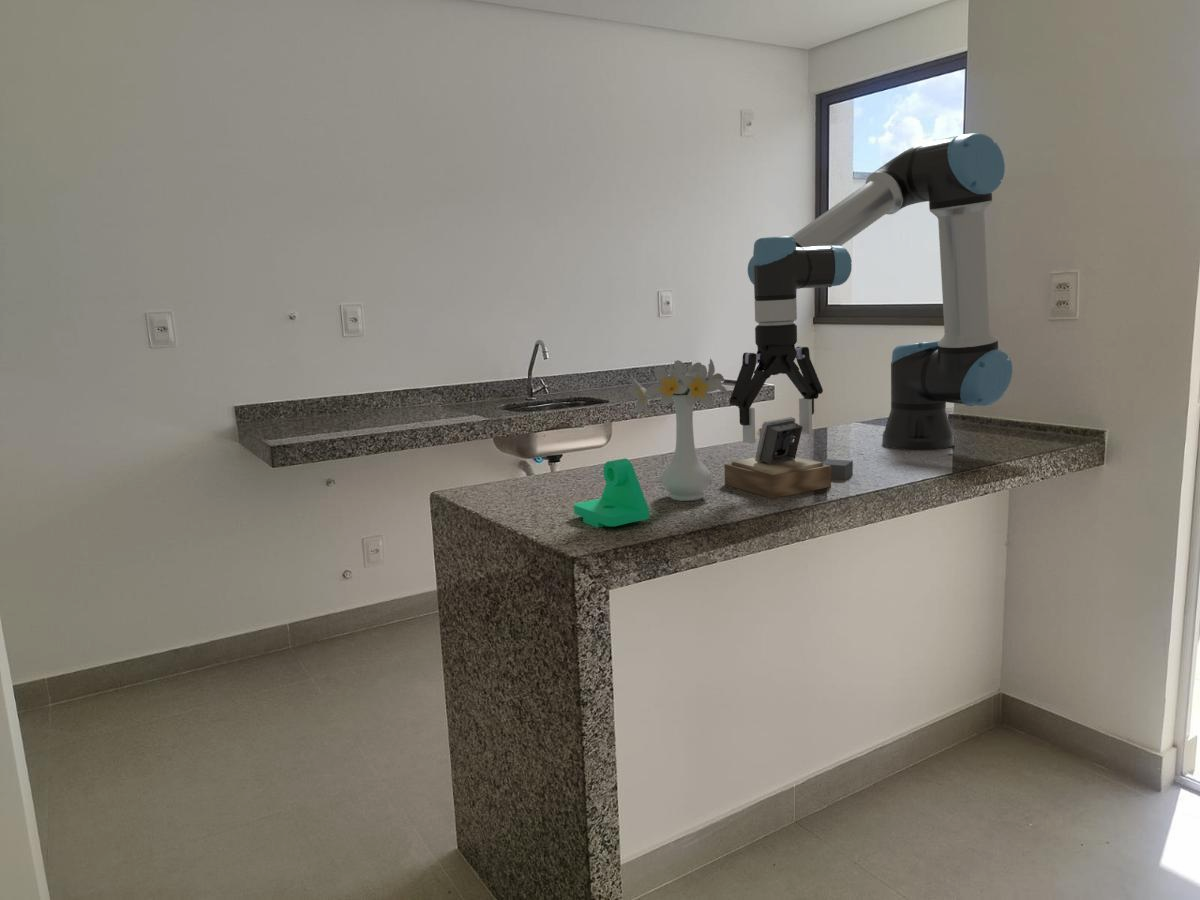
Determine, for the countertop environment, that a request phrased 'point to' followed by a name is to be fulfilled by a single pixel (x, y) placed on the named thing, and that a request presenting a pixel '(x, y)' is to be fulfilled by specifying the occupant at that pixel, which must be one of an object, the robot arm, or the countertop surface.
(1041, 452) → the countertop surface
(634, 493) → the camera mount
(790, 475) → the wooden box
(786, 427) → the electrical switch
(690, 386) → the flower vase
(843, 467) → the rubber block
